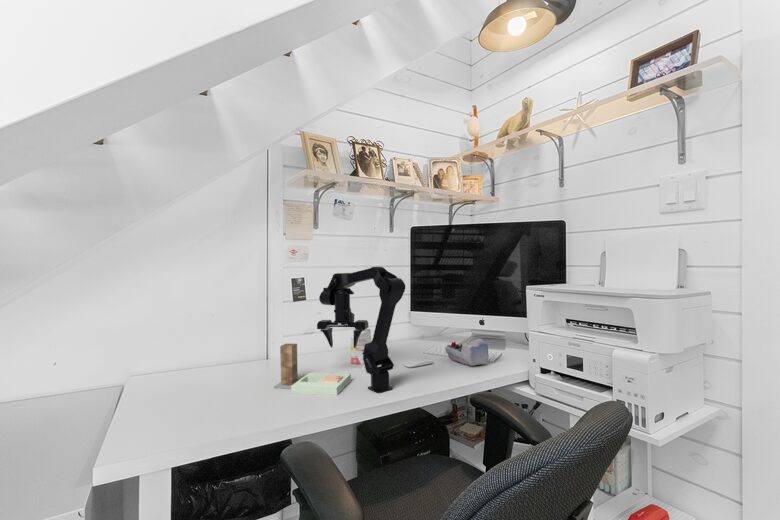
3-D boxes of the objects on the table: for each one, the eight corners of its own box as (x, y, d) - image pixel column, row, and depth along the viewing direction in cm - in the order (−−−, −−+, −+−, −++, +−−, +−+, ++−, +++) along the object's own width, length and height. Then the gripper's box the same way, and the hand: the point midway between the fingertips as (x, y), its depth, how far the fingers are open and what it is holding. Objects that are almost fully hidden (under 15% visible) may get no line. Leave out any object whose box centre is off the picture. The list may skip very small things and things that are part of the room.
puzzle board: (350, 380, 141) (350, 370, 141) (336, 395, 125) (336, 383, 125) (310, 378, 144) (309, 368, 144) (291, 393, 128) (291, 381, 128)
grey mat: (304, 382, 140) (304, 380, 140) (294, 389, 132) (294, 387, 132) (284, 381, 141) (284, 379, 141) (273, 388, 134) (273, 386, 134)
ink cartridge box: (350, 364, 164) (350, 330, 164) (352, 361, 169) (352, 328, 169) (370, 364, 163) (369, 330, 163) (371, 361, 168) (371, 328, 168)
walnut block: (297, 381, 138) (296, 343, 139) (292, 385, 134) (291, 346, 134) (286, 381, 139) (285, 343, 139) (281, 385, 135) (280, 346, 135)
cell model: (469, 342, 152) (441, 335, 170) (470, 369, 152) (442, 360, 169) (494, 339, 158) (464, 332, 176) (495, 365, 157) (465, 356, 175)
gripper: (371, 303, 149) (372, 343, 148) (326, 303, 152) (327, 342, 152) (364, 307, 138) (365, 349, 138) (316, 307, 141) (316, 348, 141)
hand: (343, 347), depth 142 cm, fingers open, 9 cm apart
